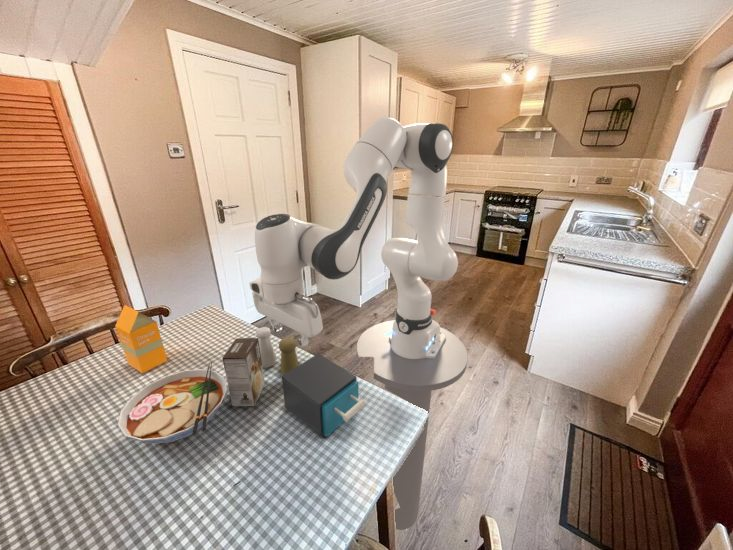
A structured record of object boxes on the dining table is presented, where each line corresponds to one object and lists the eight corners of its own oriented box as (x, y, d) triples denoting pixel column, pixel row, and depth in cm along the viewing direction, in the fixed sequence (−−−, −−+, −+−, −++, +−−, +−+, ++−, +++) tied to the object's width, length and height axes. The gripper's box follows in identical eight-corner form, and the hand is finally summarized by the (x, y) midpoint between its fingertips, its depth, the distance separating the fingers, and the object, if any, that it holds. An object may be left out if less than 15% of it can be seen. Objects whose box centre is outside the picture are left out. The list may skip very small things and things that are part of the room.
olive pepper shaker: (277, 375, 93) (273, 345, 89) (285, 362, 99) (281, 334, 95) (295, 377, 92) (292, 347, 88) (302, 364, 98) (300, 335, 94)
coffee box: (244, 383, 90) (236, 337, 84) (265, 383, 90) (259, 337, 84) (231, 407, 81) (221, 357, 75) (255, 407, 81) (247, 357, 75)
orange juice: (142, 373, 93) (123, 316, 86) (127, 364, 97) (108, 309, 90) (168, 360, 100) (152, 306, 92) (153, 351, 104) (138, 299, 96)
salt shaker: (255, 369, 96) (249, 334, 91) (261, 358, 101) (257, 324, 96) (273, 369, 95) (269, 334, 91) (279, 358, 101) (275, 324, 96)
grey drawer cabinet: (356, 407, 81) (356, 376, 78) (321, 438, 72) (319, 404, 69) (320, 383, 90) (318, 353, 86) (285, 407, 81) (281, 376, 77)
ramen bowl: (145, 397, 84) (137, 374, 81) (234, 379, 91) (229, 357, 88) (107, 483, 62) (94, 455, 59) (228, 451, 69) (222, 424, 66)
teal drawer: (371, 418, 77) (372, 390, 74) (340, 448, 69) (339, 419, 66) (324, 385, 88) (322, 360, 85) (291, 408, 80) (289, 381, 77)
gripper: (326, 294, 65) (330, 346, 71) (266, 272, 76) (274, 318, 82) (305, 307, 60) (311, 361, 66) (244, 281, 71) (254, 330, 77)
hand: (290, 337), depth 74 cm, fingers open, 8 cm apart
